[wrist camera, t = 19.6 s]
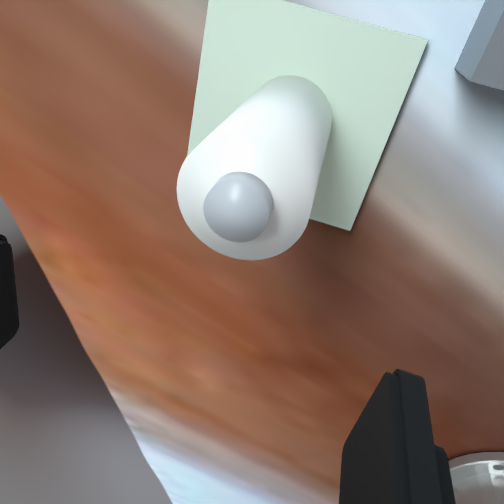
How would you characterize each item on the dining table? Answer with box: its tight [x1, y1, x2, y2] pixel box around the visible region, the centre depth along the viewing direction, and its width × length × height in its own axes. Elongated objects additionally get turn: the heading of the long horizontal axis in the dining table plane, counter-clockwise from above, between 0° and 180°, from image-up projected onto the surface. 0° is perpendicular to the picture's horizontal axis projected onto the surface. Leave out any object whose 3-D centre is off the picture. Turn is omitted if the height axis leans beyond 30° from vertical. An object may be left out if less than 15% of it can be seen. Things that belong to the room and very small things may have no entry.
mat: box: [187, 0, 428, 231], centre depth 26 cm, size 12×12×1 cm
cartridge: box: [177, 75, 332, 260], centre depth 21 cm, size 5×5×13 cm
